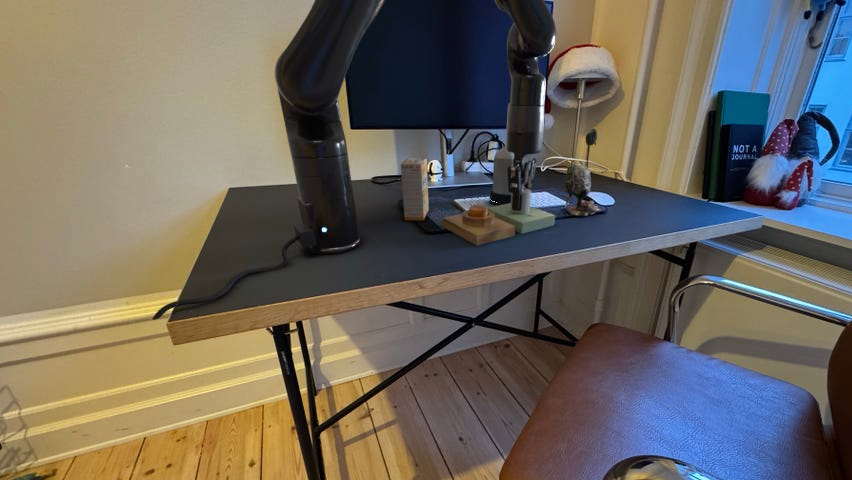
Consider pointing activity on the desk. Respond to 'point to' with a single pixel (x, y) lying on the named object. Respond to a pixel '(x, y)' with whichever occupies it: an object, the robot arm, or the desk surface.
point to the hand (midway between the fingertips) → (520, 206)
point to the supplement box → (415, 188)
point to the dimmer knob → (525, 202)
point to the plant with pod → (581, 183)
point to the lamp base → (479, 227)
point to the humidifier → (501, 174)
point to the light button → (478, 211)
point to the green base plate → (524, 218)
